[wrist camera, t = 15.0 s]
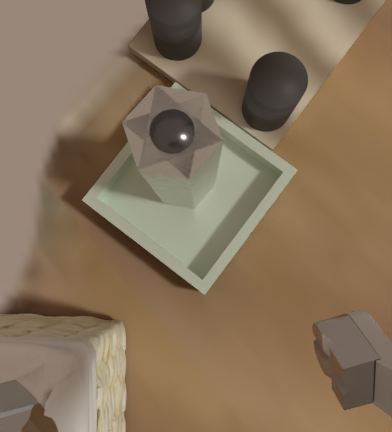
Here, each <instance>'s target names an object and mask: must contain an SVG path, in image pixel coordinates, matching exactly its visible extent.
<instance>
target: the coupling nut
mask: <svg viewBox="0 0 392 432" xmlns="http://www.w3.org/2000/svg"><path fill="white" fill-rule="evenodd" d="M122 124H123V127H124V130H125V133H126V136H127V139H128V142H129V145H130V148H131V151H132V154H133V157H134V160H135V163H136V166H137V169H138V171H139V172H140V173H141V175H142V176H143V177H144V179H145V180H146V181H147V182H148V184H149V185H150V186H151V187H152V189H153V190H154V191H155V192H156V194H157V195H158V196H159V197H160V199H161V200H162V201H163V203H166V204H171V205H176V206H182V207H187V208H192V209H195V208H196V207H197V206H198V205H199V203H200V202H201V201H202V200H203V199H204V198H205V196H206V195H207V194H208V193H209V192H210V191H211V190H212V188H213V187H214V186H215V183H216V177H217V172H218V167H219V161H220V156H221V150H222V145H223V139H222V136H221V133H220V131H219V128H218V125H217V122H216V120H215V117H214V114H213V111H212V109H211V106H210V103H209V100H208V98H207V95H206V94H205V93H200V92H194V91H188V90H183V89H177V88H171V87H166V86H160V85H155V86H154V87H153V89H152V90H151V91H150V92H149V93H148V94H147V95H146V96H145V97H144V98H143V100H142V101H141V102H140V103H139V104H138V105H137V106H136V107H135V108H134V110H133V111H132V112H131V113H130V114H129V115H128V116H127V117H126V118H125V119H124V121H123V122H122Z"/></svg>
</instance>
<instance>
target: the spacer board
mask: <svg viewBox="0 0 392 432" xmlns="http://www.w3.org/2000/svg"><path fill="white" fill-rule="evenodd" d="M385 1H386V0H145V3H146V8H147V12H148V16H149V20H148V21H147V22H146V24H145V25H144V26H143V27H142V29H141V30H140V31H139V32H138V33H137V35H136V36H135V37H134V38H133V40H132V41H131V42H130V43H129V45H128V47H129V49H130V52H131V53H133V54H134V55H136V56H137V57H138V58H140V59H141V60H142V61H144V62H145V63H147V64H148V65H149V66H151V67H152V68H154V69H155V70H156V71H158V72H159V73H160V74H162V75H163V76H165V77H166V78H167V79H169V80H170V81H171V82H173V83H175V82H176V83H178V84H179V85H181V86H182V87H183V88H185V89H186V90H188V91H194V92H200V93H205V94H206V95H207V98H208V100H209V103H210V106H211V108H212V109H214V110H215V111H217V112H218V113H219V114H221V115H222V116H223V117H225V118H226V119H228V120H229V121H230V122H232V123H233V124H235V125H236V126H237V127H239V128H240V129H241V130H243V131H244V132H246V133H247V134H248V135H250V136H251V137H253V138H254V139H255V140H257V141H258V142H259V143H261V144H262V145H264V146H265V147H266V148H268V149H269V150H271V151H273V149H274V148H275V147H276V145H277V144H278V143H279V141H280V140H281V139H282V137H283V136H284V135H285V133H286V132H287V131H288V129H289V128H290V127H291V125H292V124H293V123H294V121H295V120H296V119H297V117H298V116H299V115H300V114H301V112H302V111H303V110H304V108H305V107H306V106H307V104H308V103H309V102H310V100H311V99H312V98H313V96H314V95H315V94H316V92H317V91H318V90H319V88H320V87H321V86H322V84H323V83H324V82H325V80H326V79H327V78H328V76H329V75H330V74H331V72H332V71H333V70H334V68H335V67H336V66H337V64H338V63H339V62H340V60H341V59H342V58H343V57H344V55H345V54H346V53H347V51H348V50H349V49H350V47H351V46H352V45H353V43H354V42H355V41H356V39H357V38H358V37H359V35H360V34H361V33H362V31H363V30H364V29H365V27H366V26H367V25H368V23H369V22H370V21H371V19H372V18H373V17H374V15H375V14H376V13H377V11H378V10H379V9H380V7H381V6H382V5H383V3H384V2H385Z"/></svg>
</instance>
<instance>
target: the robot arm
mask: <svg viewBox="0 0 392 432" xmlns="http://www.w3.org/2000/svg"><path fill="white" fill-rule="evenodd" d="M312 328H313V333H314V335H315V337H316V340H315V341H314V349H315V353H316V356H317V360H318V362H319V364H320V366H321V368H322V370H323V372H324V374H325V375H326V376H328V377H330V378H331V379H332V389H333V391H334V393H335V395H336V397H337V398H338V400H339V402H340V404H341V406H342V408H343V409H344V410H347V409H351V408H354V407H358V406H362V405H366V404H370V403H373V402H374V404H375V405H376V406H377V407H379V408H380V409H381V410H383V411H384V412H386V413H387V414H388V415H390V416H391V417H392V342H391V341H390V340H389V338H388V337H387V336H386V335H385V333H384V332H383V331H382V329H381V328H380V327H379V326H378V324H377V323H376V322H375V321H374V319H373V318H372V317H371V316H370V314H369V313H368V312H367V311H366V310H364V309H360V310H357V311H354V312H350V313H347V314H342V315H339V316H335V317H332V318H329V319H326V320H322V321H319V322H316V323H313V326H312ZM44 412H45V409H44V408H43V406H42V405H41V404H40V403H37V404H34V405H30V406H26V407H22V408H18V409H14V410H10V411H7V412H3V413H0V432H58V429H57V426H56V423H55V422H54V420H53V419H52V418H50V417H47V416H44Z"/></svg>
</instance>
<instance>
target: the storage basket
mask: <svg viewBox="0 0 392 432" xmlns="http://www.w3.org/2000/svg"><path fill="white" fill-rule="evenodd" d="M125 349H126V332H125V327H124V324H123V322H122V321H121V320H103V319H99V318H96V317H92V316H76V317H70V316H58V317H51V316H47V317H45V316H42V315H38V314H31V313H29V314H1V313H0V413H3V412H7V411H10V410H14V409H18V408H22V407H26V406H30V405H34V404H37V403H40V404H41V405H42V406H43V408H44V409H45V412H44V416H47V417H50V418H52V419H53V420H54V422H55V423H56V426H57V429H58V432H126V422H125V417H124V411H125V409H126V393H127V392H126V384H125V372H126V355H125Z"/></svg>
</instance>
